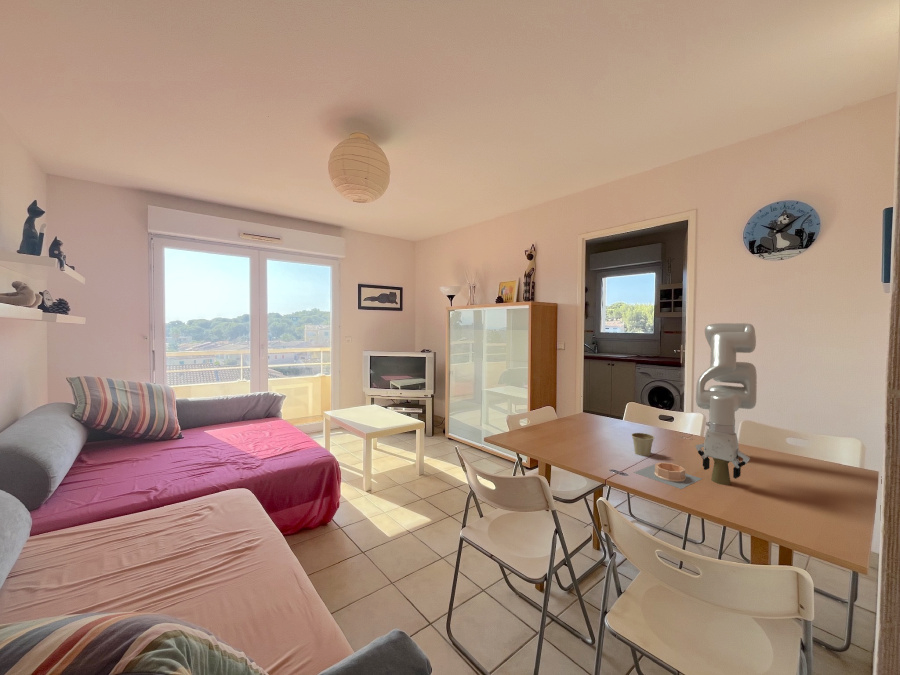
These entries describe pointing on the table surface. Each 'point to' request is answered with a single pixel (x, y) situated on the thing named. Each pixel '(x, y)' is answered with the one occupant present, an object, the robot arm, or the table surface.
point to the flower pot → (642, 443)
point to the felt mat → (650, 473)
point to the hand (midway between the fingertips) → (720, 473)
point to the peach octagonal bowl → (670, 472)
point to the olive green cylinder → (721, 472)
